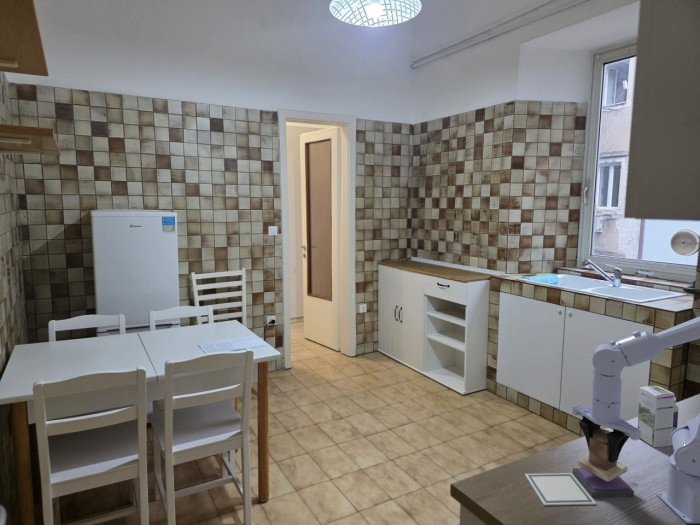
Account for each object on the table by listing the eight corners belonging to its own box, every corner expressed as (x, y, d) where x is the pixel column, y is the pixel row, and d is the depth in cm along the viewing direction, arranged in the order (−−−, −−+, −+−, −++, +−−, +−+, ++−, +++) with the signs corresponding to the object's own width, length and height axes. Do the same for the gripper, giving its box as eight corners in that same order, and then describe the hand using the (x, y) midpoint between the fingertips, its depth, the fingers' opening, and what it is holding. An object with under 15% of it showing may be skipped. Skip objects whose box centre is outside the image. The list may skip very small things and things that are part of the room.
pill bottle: (681, 434, 124) (684, 400, 123) (661, 435, 125) (663, 401, 123) (668, 425, 130) (670, 392, 129) (649, 425, 130) (651, 393, 129)
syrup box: (672, 445, 119) (676, 392, 117) (652, 448, 118) (656, 394, 116) (654, 435, 125) (658, 384, 123) (635, 437, 124) (638, 386, 122)
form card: (596, 504, 97) (596, 502, 97) (544, 505, 97) (544, 503, 97) (571, 474, 108) (571, 472, 108) (524, 475, 108) (524, 473, 108)
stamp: (626, 472, 102) (628, 436, 101) (607, 483, 99) (609, 446, 97) (597, 457, 108) (598, 423, 107) (578, 466, 105) (579, 431, 104)
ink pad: (633, 496, 99) (634, 489, 99) (592, 497, 99) (592, 490, 99) (610, 472, 108) (610, 466, 108) (572, 473, 108) (572, 466, 108)
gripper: (650, 406, 97) (646, 466, 98) (586, 383, 109) (584, 437, 111) (631, 414, 93) (627, 476, 95) (567, 390, 106) (565, 445, 108)
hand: (603, 455), depth 103 cm, fingers closed on stamp, 4 cm apart
